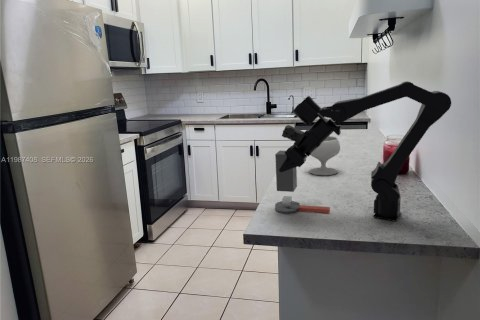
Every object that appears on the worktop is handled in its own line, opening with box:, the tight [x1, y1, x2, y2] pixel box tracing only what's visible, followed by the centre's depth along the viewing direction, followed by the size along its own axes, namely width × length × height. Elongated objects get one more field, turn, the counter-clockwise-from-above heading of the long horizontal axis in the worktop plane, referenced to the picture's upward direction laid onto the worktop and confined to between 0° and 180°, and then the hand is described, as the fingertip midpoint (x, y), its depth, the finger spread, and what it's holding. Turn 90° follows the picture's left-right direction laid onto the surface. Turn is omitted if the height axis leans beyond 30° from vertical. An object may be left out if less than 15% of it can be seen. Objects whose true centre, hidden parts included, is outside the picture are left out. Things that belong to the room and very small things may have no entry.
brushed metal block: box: [274, 150, 298, 193], centre depth 117 cm, size 5×5×12 cm
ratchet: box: [274, 195, 331, 215], centre depth 117 cm, size 18×8×4 cm, turn 70°
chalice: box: [309, 135, 341, 176], centre depth 158 cm, size 14×14×15 cm
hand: (282, 168), depth 117 cm, fingers closed on brushed metal block, 5 cm apart
